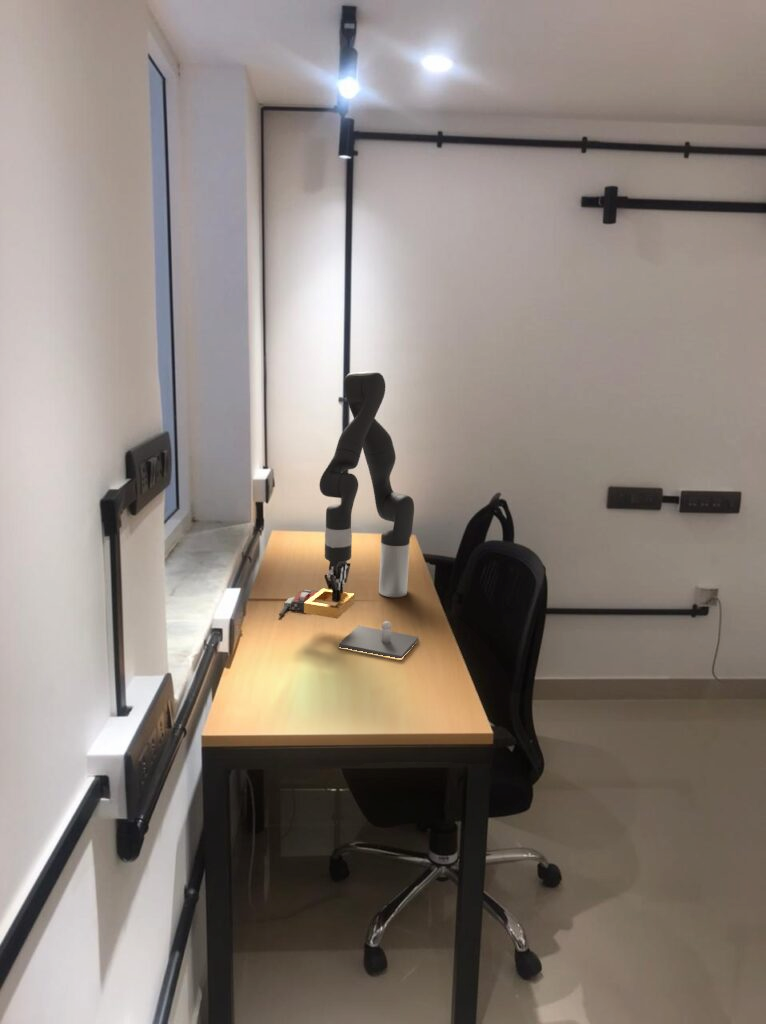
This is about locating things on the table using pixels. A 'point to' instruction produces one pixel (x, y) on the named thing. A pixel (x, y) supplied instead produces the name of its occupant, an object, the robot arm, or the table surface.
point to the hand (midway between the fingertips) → (337, 600)
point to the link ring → (326, 610)
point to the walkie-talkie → (298, 601)
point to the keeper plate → (379, 641)
